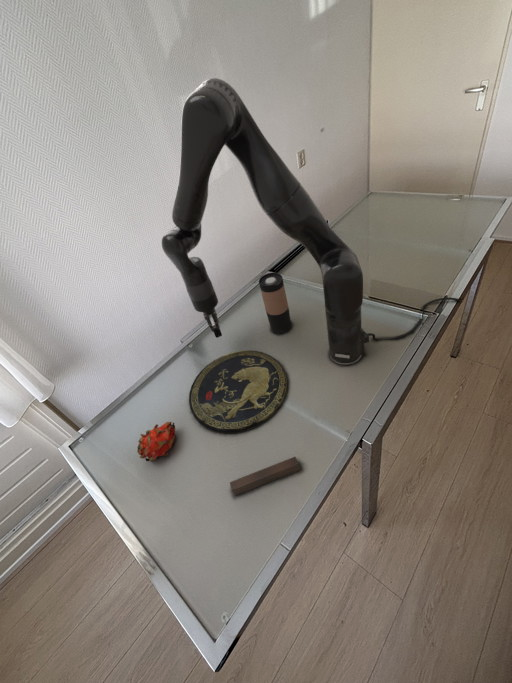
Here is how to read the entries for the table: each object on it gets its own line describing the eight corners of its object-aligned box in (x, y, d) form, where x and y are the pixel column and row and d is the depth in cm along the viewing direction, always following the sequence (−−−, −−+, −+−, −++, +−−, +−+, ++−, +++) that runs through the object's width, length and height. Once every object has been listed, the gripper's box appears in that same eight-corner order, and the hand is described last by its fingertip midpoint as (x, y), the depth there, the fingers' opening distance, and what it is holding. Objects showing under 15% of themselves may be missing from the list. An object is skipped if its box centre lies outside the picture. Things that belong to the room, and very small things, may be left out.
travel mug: (271, 321, 116) (259, 273, 102) (292, 319, 114) (283, 270, 100) (269, 335, 110) (256, 287, 97) (291, 333, 108) (281, 284, 95)
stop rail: (297, 462, 75) (295, 456, 73) (300, 470, 74) (298, 464, 72) (233, 487, 74) (229, 482, 72) (235, 495, 73) (231, 490, 71)
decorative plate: (173, 427, 88) (205, 350, 109) (176, 431, 90) (207, 353, 110) (279, 433, 80) (292, 348, 101) (280, 437, 81) (292, 352, 102)
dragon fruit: (145, 469, 85) (179, 437, 92) (154, 471, 78) (191, 437, 85) (125, 444, 84) (162, 414, 91) (133, 444, 77) (171, 412, 84)
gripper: (217, 299, 89) (233, 343, 101) (209, 278, 99) (225, 320, 110) (192, 308, 89) (211, 352, 100) (186, 286, 99) (204, 327, 110)
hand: (218, 335), depth 105 cm, fingers closed
